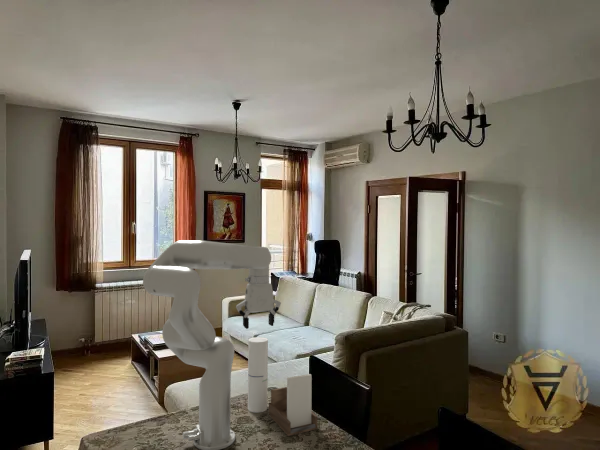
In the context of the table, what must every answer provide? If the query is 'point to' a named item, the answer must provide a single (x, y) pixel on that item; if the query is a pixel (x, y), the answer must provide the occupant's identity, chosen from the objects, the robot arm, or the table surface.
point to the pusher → (299, 400)
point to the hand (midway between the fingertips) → (258, 326)
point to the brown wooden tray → (280, 413)
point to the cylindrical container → (257, 374)
